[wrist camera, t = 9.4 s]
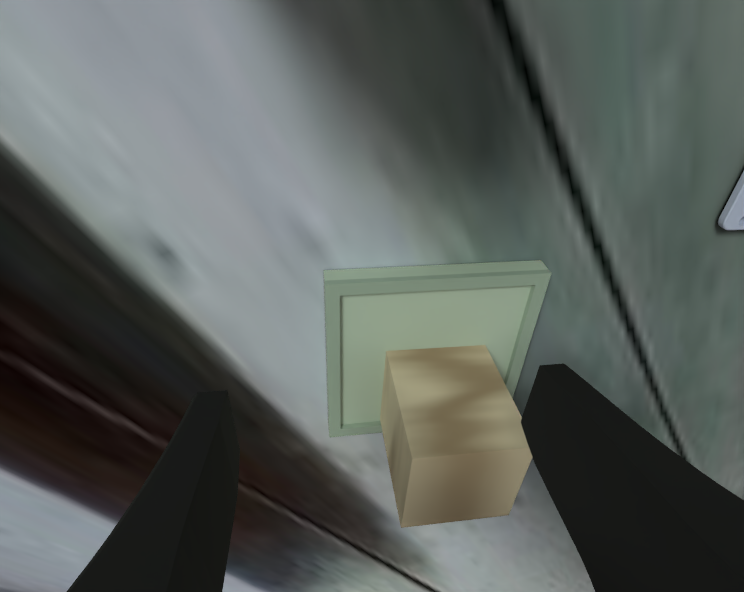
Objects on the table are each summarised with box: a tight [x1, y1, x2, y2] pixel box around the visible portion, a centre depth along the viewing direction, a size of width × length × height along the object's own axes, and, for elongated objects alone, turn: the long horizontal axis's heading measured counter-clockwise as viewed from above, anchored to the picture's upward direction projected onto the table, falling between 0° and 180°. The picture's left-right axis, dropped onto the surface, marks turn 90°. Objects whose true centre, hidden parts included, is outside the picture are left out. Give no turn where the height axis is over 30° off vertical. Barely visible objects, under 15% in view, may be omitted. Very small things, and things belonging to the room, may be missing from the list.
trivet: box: [324, 260, 551, 437], centre depth 23 cm, size 10×10×1 cm
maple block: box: [380, 345, 532, 528], centre depth 22 cm, size 5×5×6 cm
